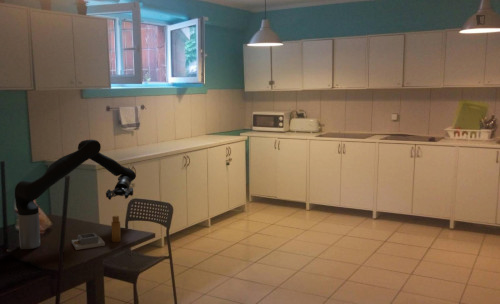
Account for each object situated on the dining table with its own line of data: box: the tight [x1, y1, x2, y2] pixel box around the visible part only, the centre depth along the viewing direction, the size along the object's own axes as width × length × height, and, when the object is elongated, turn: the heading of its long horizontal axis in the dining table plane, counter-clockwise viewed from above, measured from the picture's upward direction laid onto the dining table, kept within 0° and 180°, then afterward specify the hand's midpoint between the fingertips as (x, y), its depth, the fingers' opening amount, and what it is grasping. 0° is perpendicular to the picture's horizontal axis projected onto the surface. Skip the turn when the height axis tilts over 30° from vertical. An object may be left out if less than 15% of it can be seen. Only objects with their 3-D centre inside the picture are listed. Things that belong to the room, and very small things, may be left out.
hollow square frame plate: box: [71, 232, 106, 251], centre depth 241 cm, size 14×12×4 cm
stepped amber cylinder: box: [110, 215, 122, 243], centre depth 246 cm, size 4×4×13 cm
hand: (117, 197), depth 253 cm, fingers open, 8 cm apart
